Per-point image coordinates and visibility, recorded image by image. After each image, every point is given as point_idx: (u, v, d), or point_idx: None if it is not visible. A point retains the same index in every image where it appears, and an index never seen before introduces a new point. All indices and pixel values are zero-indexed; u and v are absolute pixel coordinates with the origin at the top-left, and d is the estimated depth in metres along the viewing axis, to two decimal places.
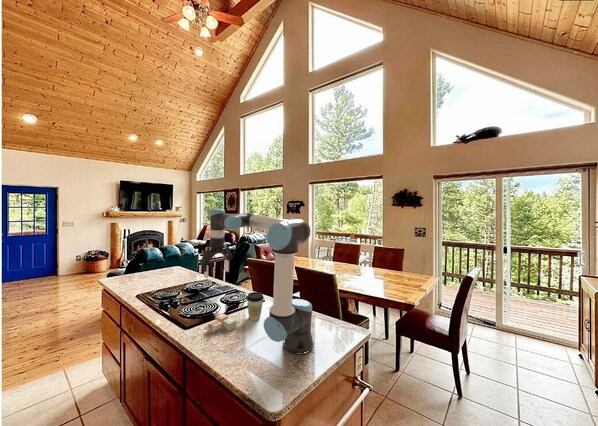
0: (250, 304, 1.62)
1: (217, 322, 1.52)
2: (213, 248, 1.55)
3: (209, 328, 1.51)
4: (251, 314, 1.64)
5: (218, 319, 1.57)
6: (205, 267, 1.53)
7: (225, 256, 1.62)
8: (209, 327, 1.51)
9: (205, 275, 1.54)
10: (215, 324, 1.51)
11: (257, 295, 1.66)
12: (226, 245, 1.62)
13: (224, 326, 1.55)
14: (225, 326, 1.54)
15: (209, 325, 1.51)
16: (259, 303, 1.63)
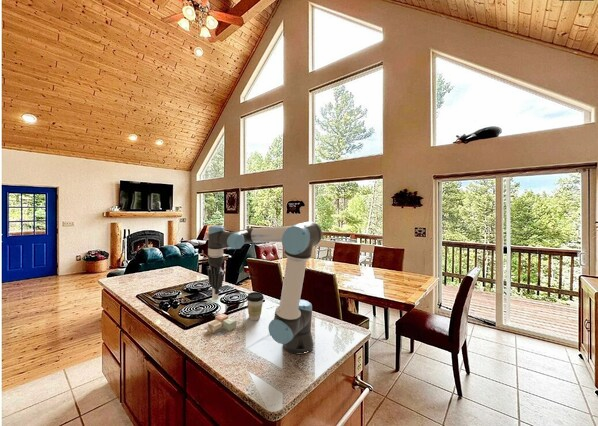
0: (250, 304, 1.62)
1: (217, 322, 1.52)
2: (210, 265, 1.49)
3: (209, 328, 1.51)
4: (251, 314, 1.64)
5: (218, 319, 1.57)
6: None
7: None
8: (209, 327, 1.51)
9: None
10: (215, 324, 1.51)
11: (257, 295, 1.66)
12: (220, 272, 1.44)
13: (224, 326, 1.55)
14: (225, 326, 1.54)
15: (209, 325, 1.51)
16: (259, 303, 1.63)
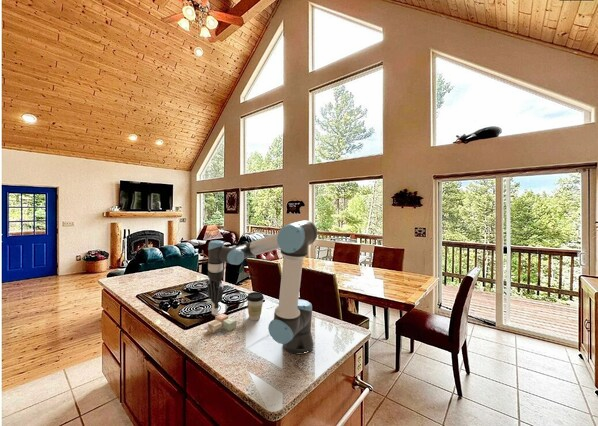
0: (250, 304, 1.62)
1: (217, 322, 1.52)
2: (210, 280, 1.50)
3: (209, 328, 1.51)
4: (251, 314, 1.64)
5: (218, 319, 1.57)
6: (212, 302, 1.51)
7: None
8: (209, 327, 1.51)
9: None
10: (215, 324, 1.51)
11: (257, 295, 1.66)
12: (220, 287, 1.45)
13: (224, 326, 1.55)
14: (225, 326, 1.54)
15: (209, 325, 1.51)
16: (259, 303, 1.63)
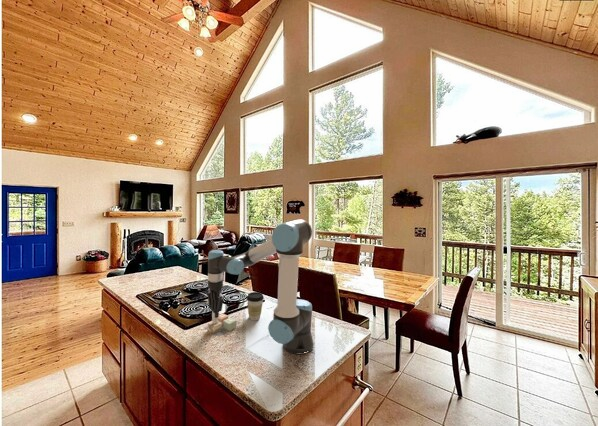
0: (250, 304, 1.62)
1: (217, 322, 1.52)
2: (210, 289, 1.51)
3: (209, 328, 1.51)
4: (251, 314, 1.64)
5: (218, 319, 1.57)
6: None
7: None
8: (209, 327, 1.51)
9: None
10: (215, 324, 1.51)
11: (257, 295, 1.66)
12: (220, 296, 1.46)
13: (224, 326, 1.55)
14: (225, 326, 1.54)
15: (209, 325, 1.51)
16: (259, 303, 1.63)
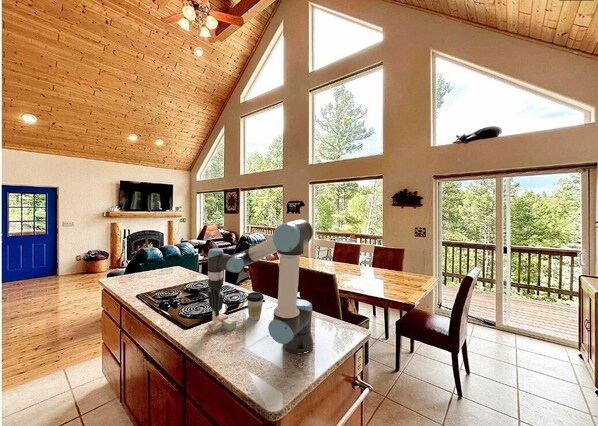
0: (250, 304, 1.62)
1: (217, 322, 1.52)
2: (210, 288, 1.50)
3: (209, 328, 1.51)
4: (251, 314, 1.64)
5: None
6: None
7: (215, 303, 1.49)
8: (209, 327, 1.51)
9: None
10: (215, 324, 1.51)
11: (257, 295, 1.66)
12: (220, 295, 1.46)
13: (224, 326, 1.55)
14: (225, 326, 1.54)
15: (209, 325, 1.51)
16: (259, 303, 1.63)
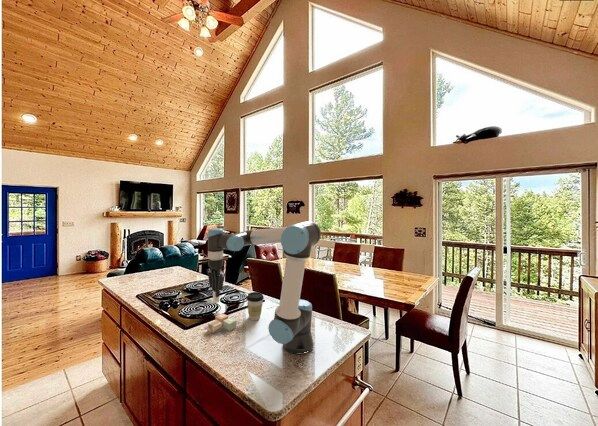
0: (250, 304, 1.62)
1: (217, 322, 1.52)
2: (210, 268, 1.49)
3: (209, 328, 1.51)
4: (251, 314, 1.64)
5: (218, 319, 1.57)
6: (213, 291, 1.50)
7: None
8: (209, 327, 1.51)
9: None
10: (215, 324, 1.51)
11: (257, 295, 1.66)
12: None
13: (224, 326, 1.55)
14: (225, 326, 1.54)
15: (209, 325, 1.51)
16: (259, 303, 1.63)
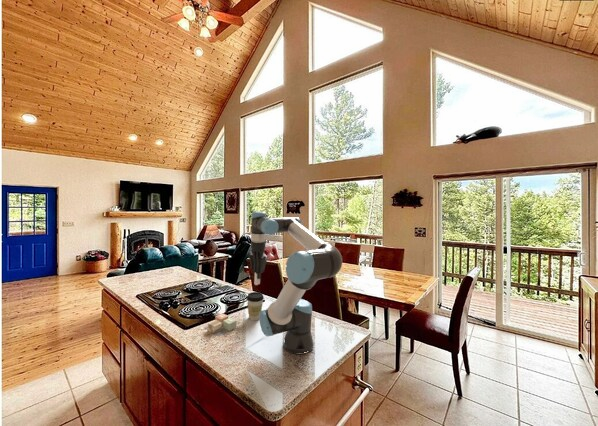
0: (250, 304, 1.62)
1: (217, 322, 1.52)
2: (252, 251, 1.52)
3: (209, 328, 1.51)
4: (251, 314, 1.64)
5: (218, 319, 1.57)
6: (254, 273, 1.53)
7: None
8: (209, 327, 1.51)
9: None
10: (215, 324, 1.51)
11: (257, 295, 1.66)
12: (263, 256, 1.47)
13: (224, 326, 1.55)
14: (225, 326, 1.54)
15: (209, 325, 1.51)
16: (259, 303, 1.63)
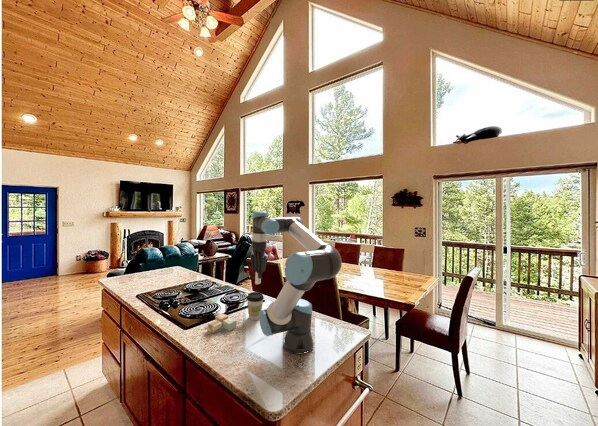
0: (250, 304, 1.62)
1: (217, 322, 1.52)
2: (253, 250, 1.52)
3: (209, 328, 1.51)
4: (251, 314, 1.64)
5: (218, 319, 1.57)
6: (255, 272, 1.53)
7: None
8: (209, 327, 1.51)
9: None
10: (215, 324, 1.51)
11: (257, 295, 1.66)
12: (264, 256, 1.48)
13: (224, 326, 1.55)
14: (225, 326, 1.54)
15: (209, 325, 1.51)
16: (259, 303, 1.63)
